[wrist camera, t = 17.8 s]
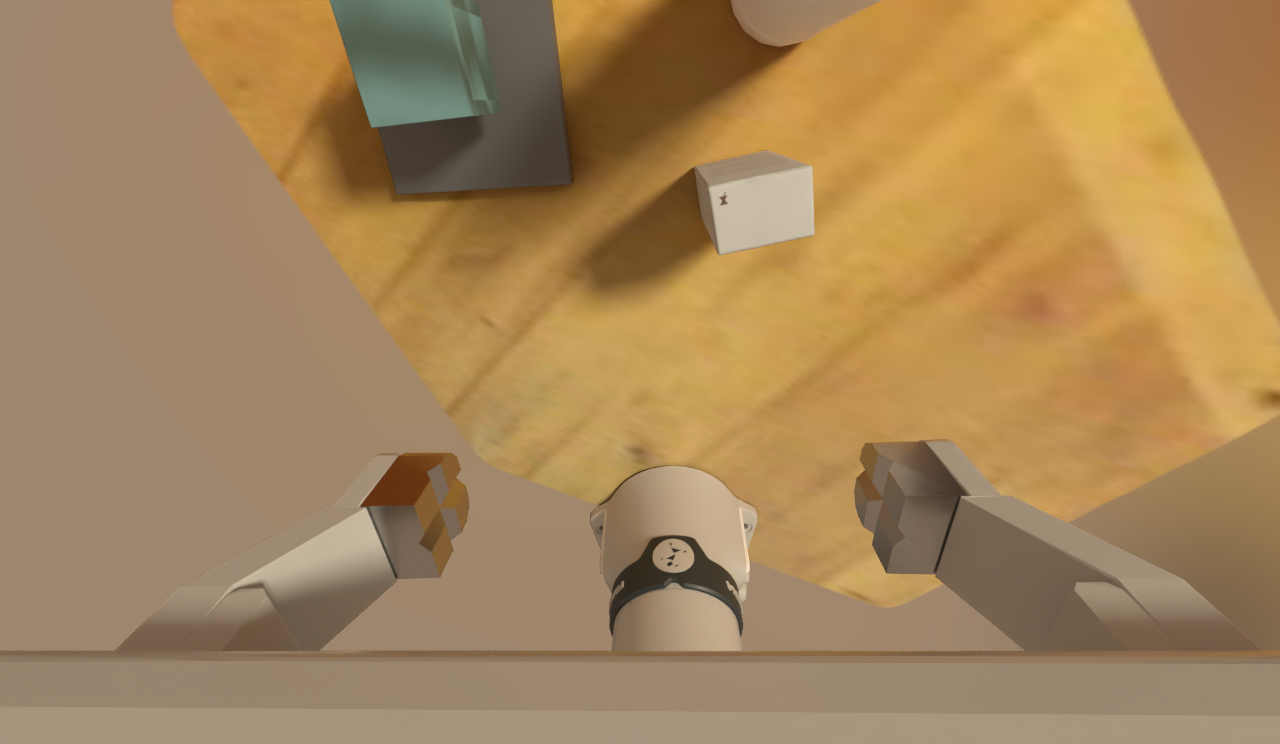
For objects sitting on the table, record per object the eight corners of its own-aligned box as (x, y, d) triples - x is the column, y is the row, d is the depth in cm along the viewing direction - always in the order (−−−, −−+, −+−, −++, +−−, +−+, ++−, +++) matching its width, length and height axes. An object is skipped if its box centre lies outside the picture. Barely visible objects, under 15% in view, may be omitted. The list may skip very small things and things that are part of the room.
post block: (573, 181, 40) (550, 199, 32) (405, 191, 40) (342, 210, 33) (542, -78, 32) (504, -141, 24) (338, -59, 33) (236, -113, 25)
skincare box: (701, 220, 41) (715, 257, 30) (693, 165, 39) (704, 185, 28) (775, 204, 40) (816, 237, 29) (771, 148, 38) (813, 161, 27)
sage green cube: (501, 113, 34) (471, 116, 29) (416, 123, 34) (371, 127, 29) (478, 2, 31) (439, -17, 26) (385, 15, 32) (329, -1, 26)
